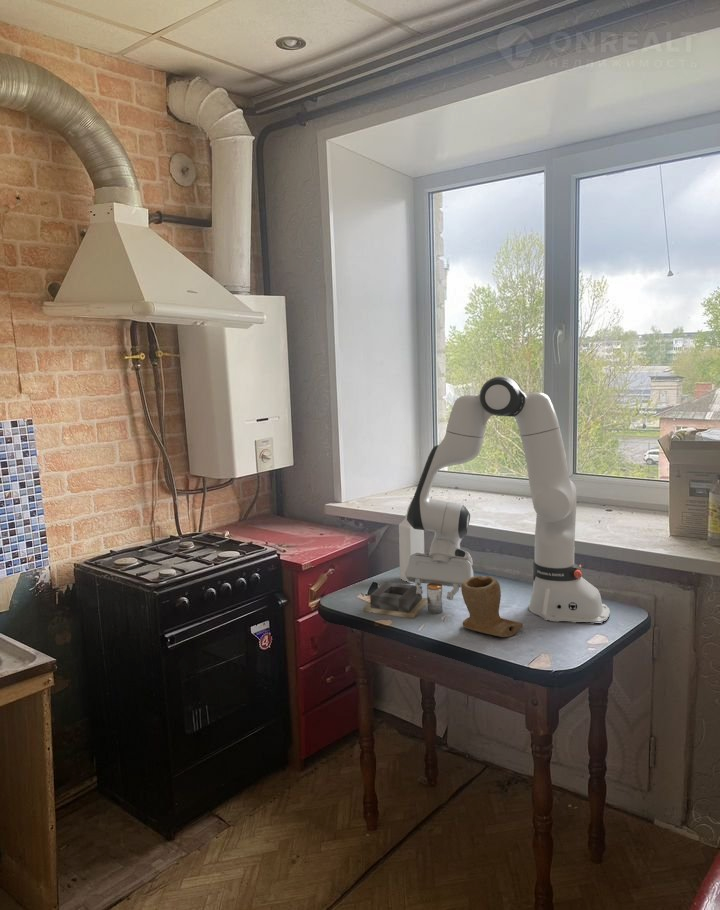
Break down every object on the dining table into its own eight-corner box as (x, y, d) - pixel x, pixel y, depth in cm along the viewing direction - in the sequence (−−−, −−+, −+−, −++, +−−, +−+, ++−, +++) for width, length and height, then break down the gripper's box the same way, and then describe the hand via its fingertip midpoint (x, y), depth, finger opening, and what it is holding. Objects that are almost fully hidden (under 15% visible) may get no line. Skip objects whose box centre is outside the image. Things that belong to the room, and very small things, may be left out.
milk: (411, 583, 225) (409, 518, 221) (399, 579, 230) (398, 515, 226) (425, 579, 228) (423, 515, 225) (413, 575, 233) (412, 512, 230)
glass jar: (444, 609, 201) (444, 583, 200) (439, 615, 197) (439, 588, 196) (430, 608, 203) (429, 582, 202) (425, 613, 199) (425, 587, 198)
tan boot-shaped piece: (452, 631, 185) (452, 578, 183) (477, 618, 194) (476, 567, 192) (500, 646, 175) (500, 590, 173) (524, 632, 184) (524, 578, 181)
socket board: (429, 601, 208) (429, 586, 207) (414, 618, 195) (413, 601, 194) (381, 595, 214) (380, 580, 214) (363, 611, 202) (362, 595, 201)
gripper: (408, 547, 208) (397, 588, 201) (474, 553, 200) (465, 596, 192) (413, 557, 213) (403, 597, 205) (478, 563, 204) (469, 606, 197)
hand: (434, 597), depth 199 cm, fingers open, 8 cm apart
